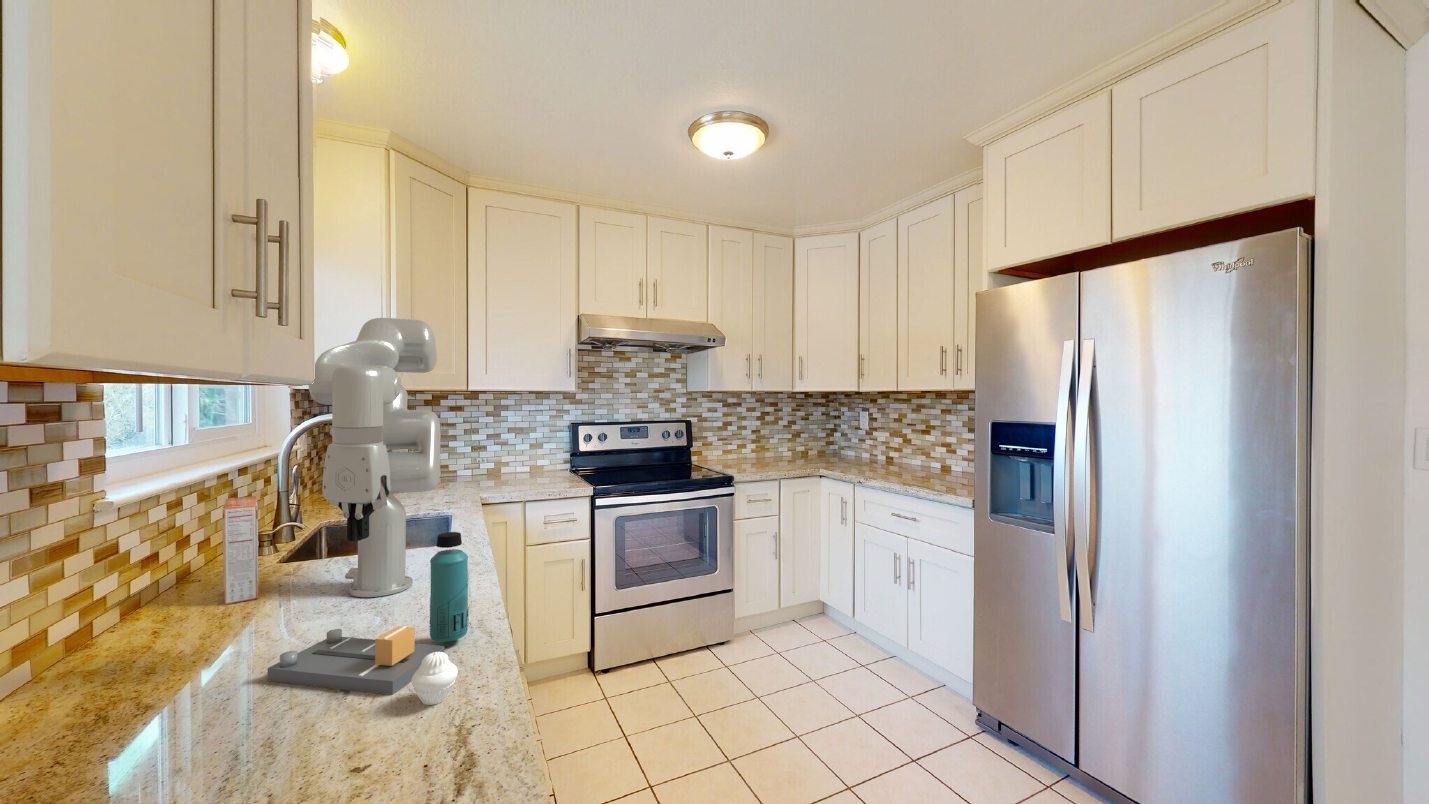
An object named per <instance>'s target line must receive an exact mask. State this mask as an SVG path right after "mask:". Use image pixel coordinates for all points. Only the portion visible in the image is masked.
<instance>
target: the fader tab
mask: <svg viewBox="0 0 1429 804" xmlns="http://www.w3.org/2000/svg"><path fill="white" fill-rule="evenodd" d="M374 640H375V664H379V665H389V666H393V665H394V664H396V663H397V662H399V661H400V660H402V659H403V658H405V657H407V656H408V655H410V654H411V653H413V652H414V643H415V641H416V640H415V627H413V626H407V625H405V626H401V625H398V626H396V627H394V628H393V629H391V630H389V631H387V632H385V633H384V634H382V635H380V636H378V637H376V638H375V639H374Z"/></svg>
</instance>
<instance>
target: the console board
mask: <svg viewBox="0 0 1429 804" xmlns="http://www.w3.org/2000/svg"><path fill="white" fill-rule="evenodd" d="M433 652H434V653H435V652H444V653H445V645H438V644H436V645H435V644H427V643H425V644H424V643H415V642H414V652H413V653H411V654H410V655H408V656H407V657H405V658H403V659H402V660H400V661H399V662H397V663H396V664H394V665H393V666H389V665H379V664H375V639H373V638H371V639H370V638H360V637H352V636H351V637H349V636H343V630H342V629H341V628H335V629H331V630H328V631H326V638H325V639H323V640H320V641H319V642H317V643H315V644H313V645H311V646H309V647H307V648H305V649H303V650H301V651H300V652H298V651H296V650H290V651H286V652H282V653H281V654H280V655H279V662H277V663H275V664H273V665H271V666H269V667H267V672H266V673H267V676H266V678H267V681H268V682H273V683H275V682H276V683H283V684H293V685H294V684H295V685H299V686H300V685H303V686H310V687H311V686H312V687H320V688H329V689H339V690H346V691H347V690H349V691H355V692H365V693H373V694H374V693H375V694H384V695H390V696H391V695H394V694H396V693H397V692H398V691H400V690H402V689H403V688H404V687H406V686H407V685H408V684H409V683H411V680H412V677H413V675H414V673H415V672H416V671H417V670H418V669H419V667H420V666H421V665H422V664H421V663H422V660H423V659H424V658H425V656H427V655H429V654H430V653H433Z"/></svg>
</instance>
